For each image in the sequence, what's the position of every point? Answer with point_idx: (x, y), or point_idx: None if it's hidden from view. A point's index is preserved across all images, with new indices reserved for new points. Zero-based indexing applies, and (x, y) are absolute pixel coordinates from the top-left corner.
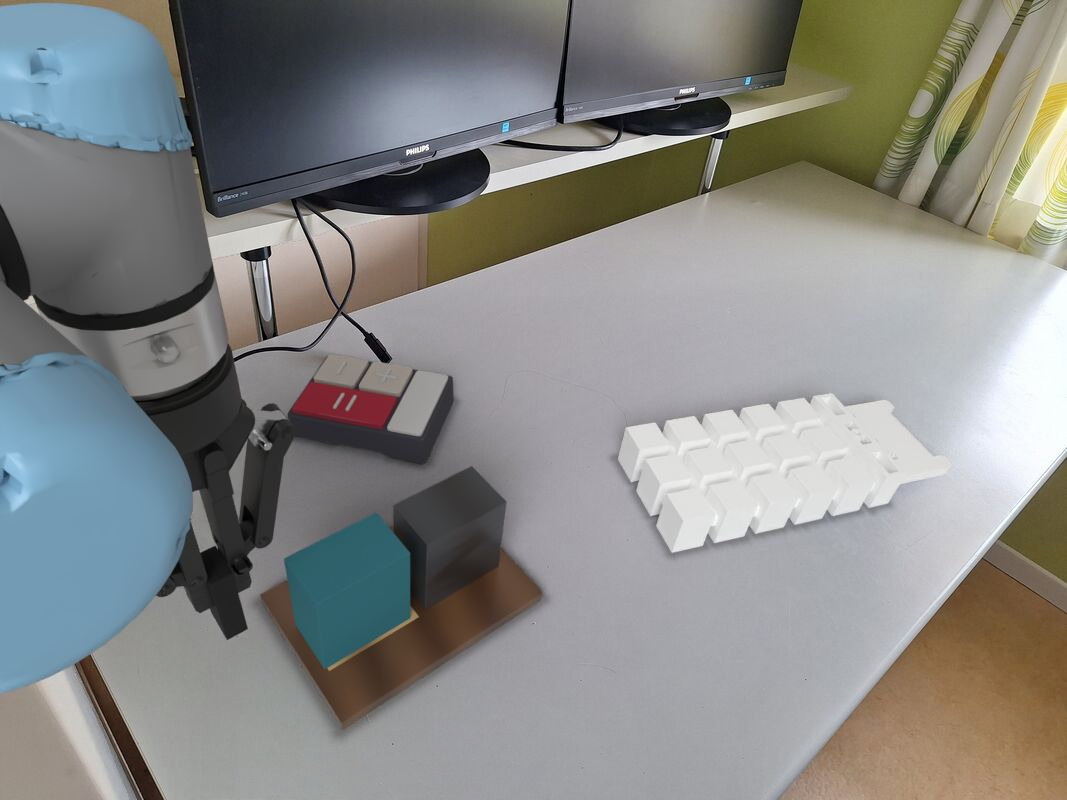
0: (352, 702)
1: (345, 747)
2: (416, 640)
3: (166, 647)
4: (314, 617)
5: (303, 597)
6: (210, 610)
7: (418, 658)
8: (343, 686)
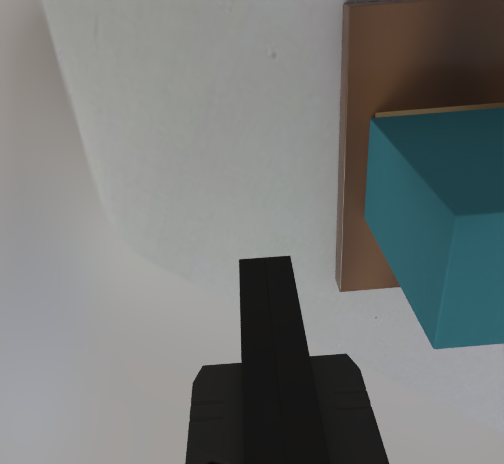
0: (367, 275)
1: (326, 296)
2: None
3: (150, 6)
4: (411, 294)
5: (422, 269)
6: (239, 264)
7: None
8: (371, 250)
